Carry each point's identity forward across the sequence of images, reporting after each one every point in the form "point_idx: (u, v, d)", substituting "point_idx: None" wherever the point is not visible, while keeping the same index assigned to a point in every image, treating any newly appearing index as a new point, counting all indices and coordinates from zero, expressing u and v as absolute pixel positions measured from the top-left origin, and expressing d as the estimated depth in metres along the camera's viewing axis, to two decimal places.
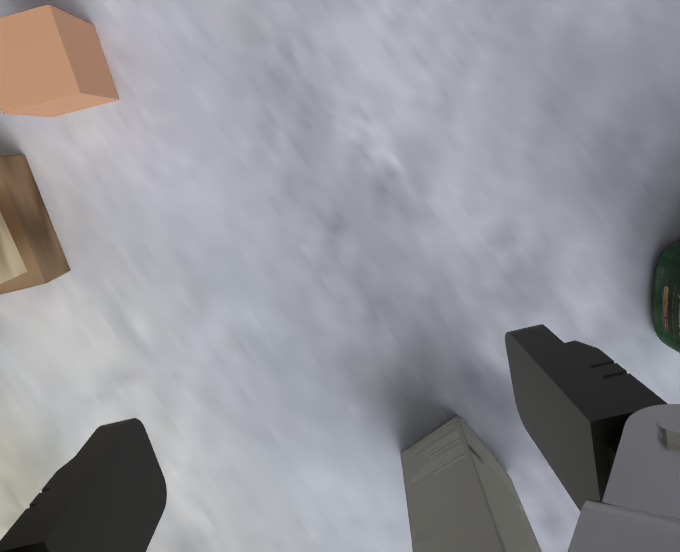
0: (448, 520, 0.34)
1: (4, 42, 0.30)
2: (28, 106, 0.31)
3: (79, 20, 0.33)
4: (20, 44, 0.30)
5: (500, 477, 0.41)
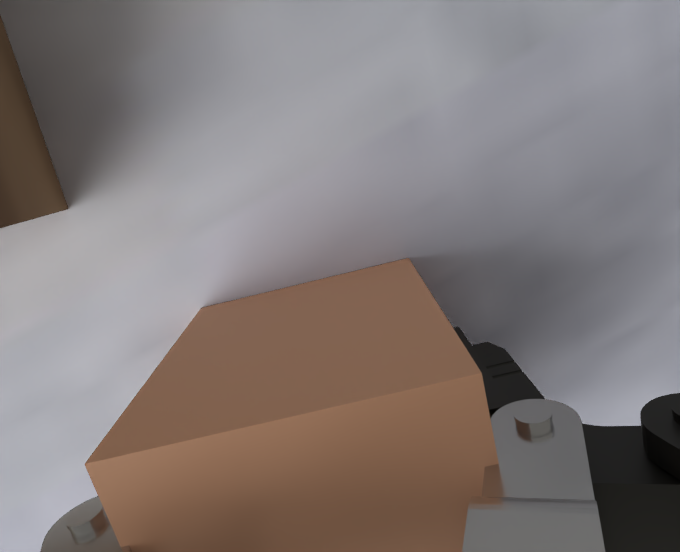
0: None
1: (405, 514, 0.07)
2: None
3: None
4: None
5: None
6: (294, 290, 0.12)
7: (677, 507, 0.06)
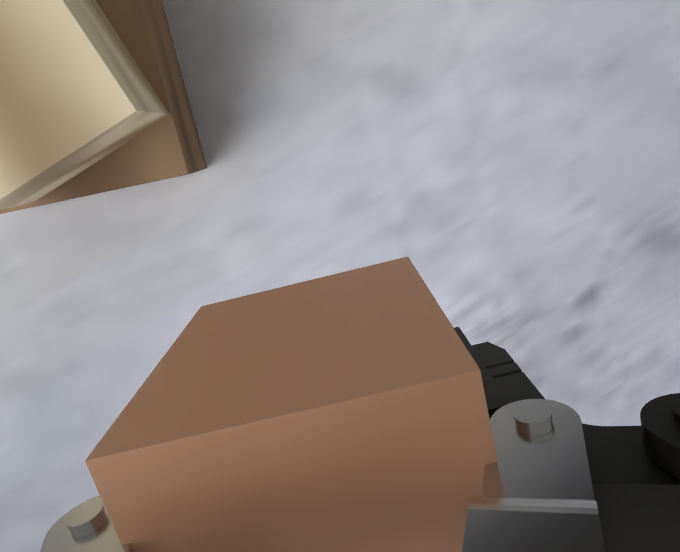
0: None
1: (404, 511, 0.07)
2: None
3: None
4: None
5: None
6: (294, 288, 0.12)
7: (677, 507, 0.06)
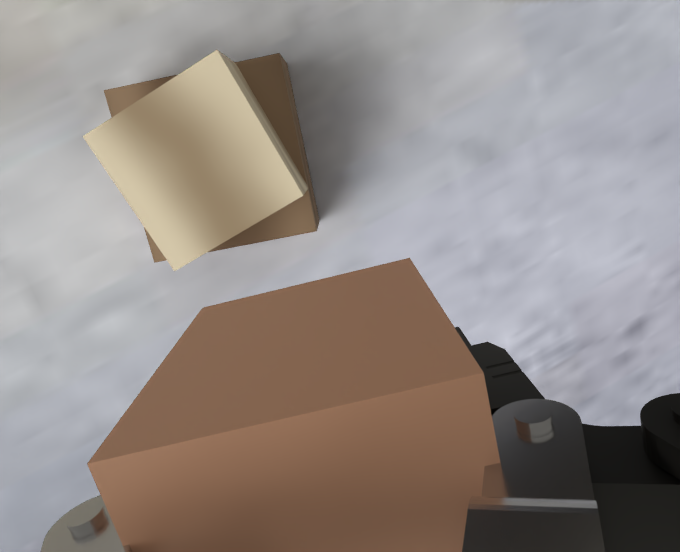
0: None
1: (407, 514, 0.07)
2: None
3: None
4: None
5: None
6: (295, 290, 0.12)
7: (677, 507, 0.06)
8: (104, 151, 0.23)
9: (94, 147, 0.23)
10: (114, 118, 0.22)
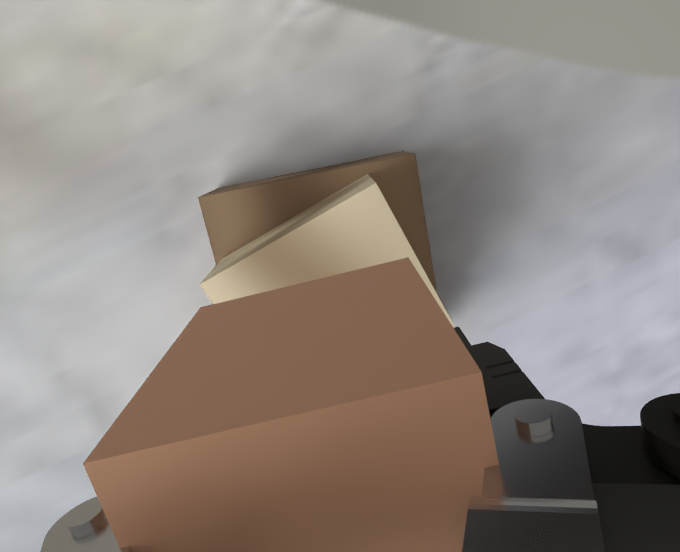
0: None
1: (405, 513, 0.07)
2: None
3: None
4: None
5: None
6: (293, 289, 0.12)
7: (677, 507, 0.06)
8: None
9: (213, 297, 0.18)
10: (241, 263, 0.18)
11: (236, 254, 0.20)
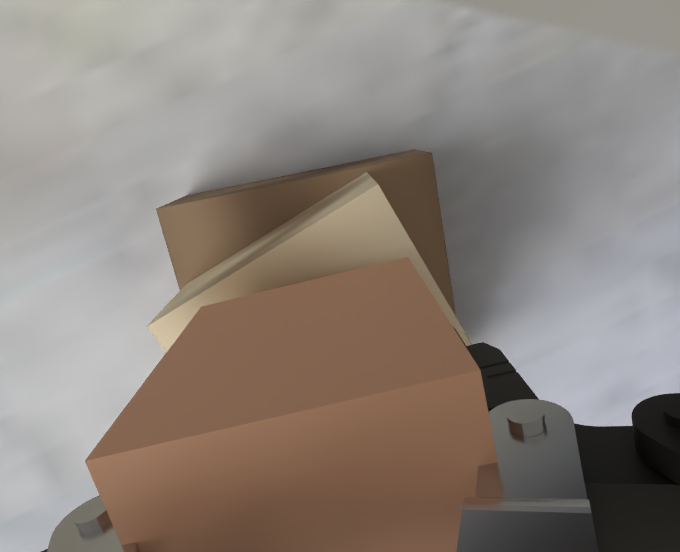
0: None
1: (404, 511, 0.07)
2: None
3: None
4: None
5: None
6: (294, 288, 0.12)
7: (668, 507, 0.06)
8: None
9: (166, 343, 0.14)
10: (200, 298, 0.13)
11: (200, 280, 0.16)
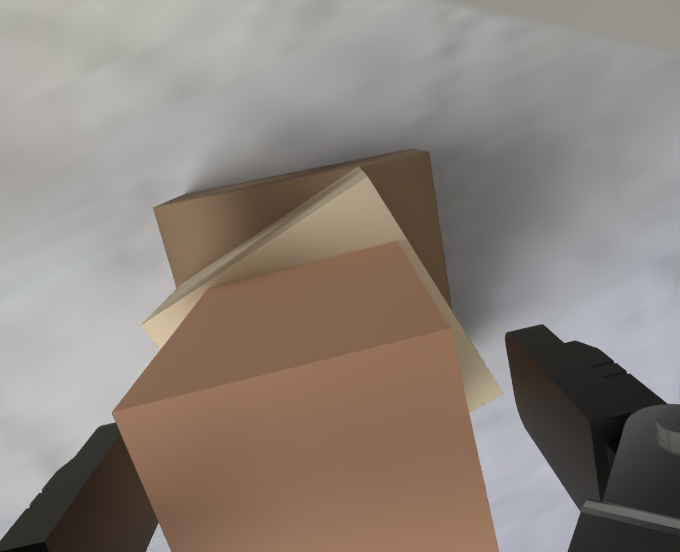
0: None
1: (388, 453, 0.08)
2: (154, 504, 0.08)
3: None
4: (381, 507, 0.08)
5: None
6: (292, 271, 0.13)
7: None
8: None
9: (161, 341, 0.14)
10: (193, 295, 0.13)
11: (195, 279, 0.16)
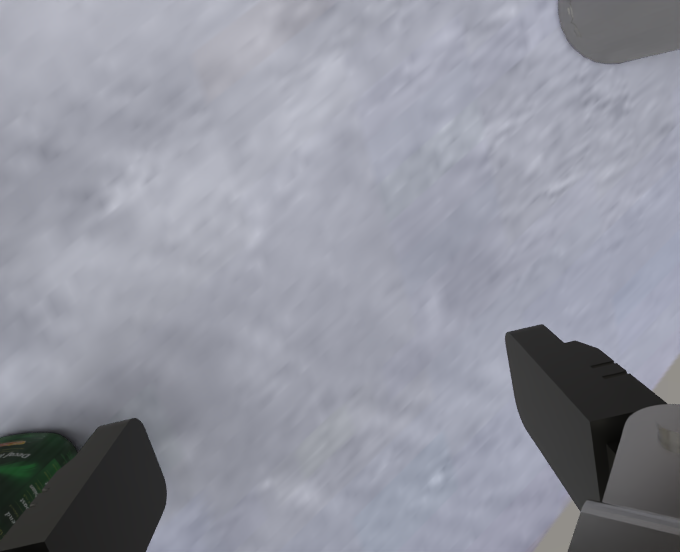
0: None
1: None
2: None
3: None
4: None
5: None
6: None
7: None
8: None
9: None
10: None
11: None
